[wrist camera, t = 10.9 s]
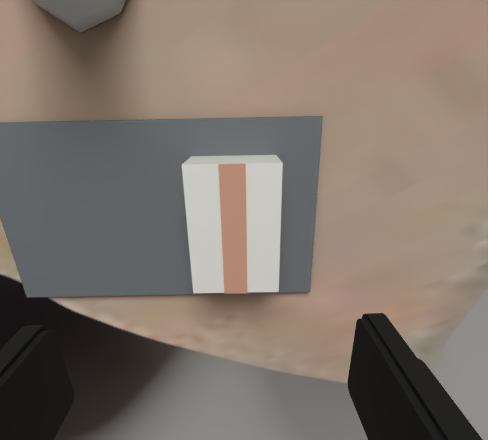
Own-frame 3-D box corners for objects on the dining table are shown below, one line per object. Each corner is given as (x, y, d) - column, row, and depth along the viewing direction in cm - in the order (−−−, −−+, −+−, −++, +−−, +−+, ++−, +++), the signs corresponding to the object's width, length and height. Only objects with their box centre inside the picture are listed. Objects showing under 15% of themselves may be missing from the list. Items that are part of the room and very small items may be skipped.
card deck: (191, 156, 20) (181, 164, 17) (276, 154, 20) (282, 163, 17) (200, 268, 23) (193, 294, 20) (273, 266, 23) (278, 292, 20)
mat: (31, 293, 25) (27, 297, 24) (-25, 123, 20) (-32, 123, 19) (308, 288, 25) (309, 292, 24) (320, 116, 20) (322, 116, 19)
